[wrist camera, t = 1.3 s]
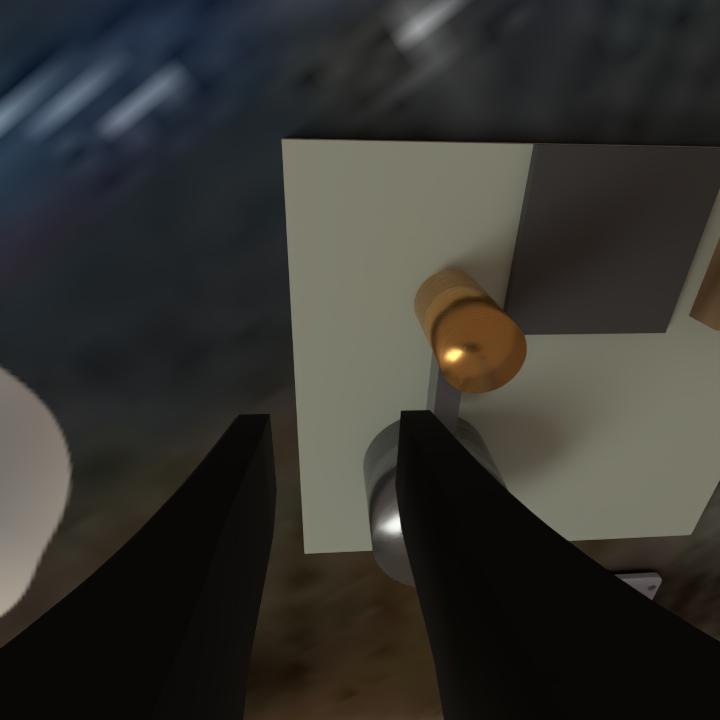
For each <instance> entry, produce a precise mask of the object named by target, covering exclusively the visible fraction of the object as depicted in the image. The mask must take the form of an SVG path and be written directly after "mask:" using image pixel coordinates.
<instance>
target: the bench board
mask: <svg viewBox="0 0 720 720" xmlns="http://www.w3.org/2000/svg"><path fill="white" fill-rule="evenodd" d="M533 144H548V145H599V146H651V145H601V144H550V143H499V142H448V141H397V140H346V139H295V138H283V139H282V152H283V170H284V188H285V206H286V225H287V243H288V261H289V279H290V297H291V315H292V333H293V351H294V369H295V387H296V405H297V424H298V442H299V460H300V478H301V496H302V514H303V532H304V550H305V554H308V553H329V552H349V551H370V550H372V542H371V533H370V524H369V516H368V507H367V499H366V490H365V482H364V473H363V462H364V457H365V453H366V451H367V449H368V447H369V445H370V444H371V442H372V440H373V439H374V438H375V437H376V436H377V435H378V434H379V433H380V432H381V431H382V430H383V429H385V428H386V427H387V426H389V425H390V424H392V423H394V422H396V421H397V420H400V415H401V411H405V410H426V405H427V396H428V386H429V377H430V368H431V359H432V349H431V347H430V345H429V343H428V341H427V338H426V336H425V334H424V332H423V330H422V328H421V326H420V324H419V321H418V319H417V317H416V315H415V311H414V300H415V296H416V293H417V291H418V289H419V288H420V286H421V285H422V284H423V282H424V281H425V280H426V279H428V278H429V277H430V276H432V275H434V274H436V273H438V272H441V271H445V270H459V271H462V272H465V273H467V274H469V275H470V276H471V277H472V278H473V279H474V280H475V281H476V282H477V283H478V284H479V285H480V286H481V287H482V288H483V289H484V290H485V291H486V292H487V293H488V295H489V296H490V297H491V298H492V299H493V300H494V301H495V302H496V303H497V304H498V305H499V306H500V307H501V308H502V310H503V308H504V303H505V297H506V292H507V286H508V281H509V275H510V270H511V264H512V259H513V254H514V248H515V243H516V237H517V232H518V226H519V221H520V215H521V210H522V204H523V199H524V193H525V188H526V183H527V177H528V172H529V166H530V161H531V155H532V150H533ZM651 147H702V146H651ZM702 148H720V147H702ZM719 238H720V189H719V192H718V195H717V197H716V200H715V203H714V205H713V208H712V211H711V213H710V216H709V219H708V221H707V224H706V227H705V229H704V232H703V235H702V237H701V240H700V243H699V245H698V248H697V251H696V253H695V256H694V259H693V261H692V264H691V267H690V269H689V272H688V275H687V277H686V280H685V283H684V285H683V288H682V291H681V293H680V296H679V299H678V301H677V304H676V307H675V309H674V312H673V315H672V317H671V320H670V323H669V325H668V328H667V331H666V333H635V334H560V335H524V336H525V339H526V343H527V354H526V358H525V361H524V364H523V366H522V367H521V369H520V371H519V372H518V373H517V375H516V376H515V377H514V378H513V379H512V380H511V381H509V382H508V383H507V384H505V385H504V386H502V387H500V388H498V389H496V390H493V391H490V392H485V393H467V392H464V391H462V393H461V400H460V407H459V413H458V417H459V418H461V419H463V420H465V421H467V422H468V423H470V424H471V425H472V426H474V427H475V429H476V430H477V431H478V432H479V433H480V435H481V437H482V438H483V440H484V442H485V444H486V446H487V448H488V450H489V452H490V454H491V456H492V458H493V460H494V462H495V464H496V466H497V468H498V470H499V472H500V474H501V476H502V478H503V480H504V482H505V484H506V486H507V489H508V491H509V492H510V493H511V494H512V495H513V496H515V497H516V498H517V499H518V500H519V501H520V502H521V503H522V504H524V505H525V506H526V507H527V508H528V509H529V510H530V511H531V512H533V513H534V514H535V515H536V516H537V517H539V518H540V519H541V520H542V521H543V522H545V523H546V524H547V525H548V526H550V527H551V528H552V529H553V530H555V531H556V532H557V533H559V534H560V535H561V536H562V537H564V538H565V539H566V540H568V541H574V540H595V539H615V538H636V537H656V536H676V535H691V534H692V532H693V530H694V528H695V526H696V524H697V522H698V520H699V518H700V516H701V515H702V513H703V511H704V509H705V507H706V505H707V503H708V501H709V499H710V497H711V496H712V494H713V492H714V490H715V488H716V486H717V484H718V482H719V480H720V331H716V330H714V329H712V328H710V327H708V326H707V325H705V324H703V323H701V322H699V321H697V320H695V319H694V318H692V317H690V316H689V314H690V311H691V309H692V306H693V304H694V301H695V299H696V296H697V294H698V291H699V289H700V286H701V284H702V281H703V278H704V276H705V273H706V271H707V268H708V266H709V263H710V261H711V258H712V256H713V253H714V251H715V248H716V245H717V243H718V240H719Z"/></svg>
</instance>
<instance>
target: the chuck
mask: <svg viewBox="0 0 720 720" xmlns="http://www.w3.org/2000/svg"><path fill="white" fill-rule="evenodd" d="M399 428H400V420H397V421H396V422H394V423H392V424H390V425H389V426H387V427H386V428H385V429H383V430H382V431H381V432H380V433H379V434H378V435H377V436H376V437H375V438H374V439H373V440H372V442H371V444H370V445H369V447H368V449H367V451H366V453H365V457H364V462H363V473H364V482H365V490H366V499H367V507H368V516H369V524H370V533H371V542H372V550H373V554H374V558H375V560H376V562H377V564H378V565H379V567H380V568H381V569H382V570H383V571H384V572H385V573H386V574H387V575H388V576H390V577H391V578H393V579H394V580H396V581H398V582H400V583H403V584H406V585H409V586H413V587H416V586H415V582H414V578H413V574H412V570H411V566H410V562H409V558H408V555H407V551H406V547H405V543H404V539H403V535H402V531H401V524H400V517H399V511H398V503H397V495H396V488H395V480H396V467H397V454H398V441H399ZM454 436H455V438H456V439H457V440H458V441H459V442H460V443H461V444H462V445H463V446H464V447H465V448H466V449H467V450H468V451H469V453H470V454H471V455H472V456H473V457H474V458H475V459H476V460H477V461H478V462H479V463H480V464H481V465H482V466H483V467H484V468H485V469H486V470H487V471H488V472H489V473H490V474H491V475H492V476H493V477H494V478H495V479H496V480H497V481H498V482H499V483H500V484H502V485H503V486H504V487H505V488H506V489H507V486H506V484H505V482H504V480H503V478H502V476H501V474H500V472H499V470H498V468H497V466H496V464H495V462H494V460H493V458H492V456H491V454H490V452H489V450H488V448H487V446H486V444H485V442H484V440H483V438H482V437H481V435H480V433H479V432H478V431H477V430H476V429H475V427H474V426H472V425H471V424H470V423H468V422H467V421H465V420H463V419H461V418H459V417H458V420H457V427H456V433H455V435H454ZM507 490H508V489H507Z"/></svg>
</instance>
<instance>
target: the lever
mask: <svg viewBox="0 0 720 720" xmlns="http://www.w3.org/2000/svg"><path fill="white" fill-rule="evenodd" d="M414 311H415V315H416V317H417V319H418V321H419V324H420V326H421V328H422V330H423V332H424V334H425V336H426V338H427V341H428V343H429V345H430V347H431V349H432V359H431V368H430V377H429V386H428V396H427V405H426V410H430V411H431V412H432V413H433V414H434V415H435V416H436V417H437V418H438V419H439V420H440V421H441V422H442V423H443V424H444V426H445V427H446V428H447V429H448V430H449V431H450V432H451V433H452V434H453V435H455V433H456V427H457V420H458V413H459V407H460V400H461V393H462V391H464V392H467V393H485V392H490V391H493V390H496V389H498V388H500V387H502V386H504V385H505V384H507V383H508V382H509V381H511V380H512V379H513V378H514V377H515V376H516V375H517V373H518V372H519V371H520V369H521V367H522V366H523V364H524V361H525V358H526V354H527V343H526V339H525V336H524V334H523V332H522V330H521V329H520V328H519V327H518V326H517V324H516V323H515V322H514V321H513V320H512V319H511V318H510V317H509V316H508V315H507V314H506V313H505V312H504V311H503V310H502V308H501V307H500V306H499V305H498V304H497V303H496V302H495V301H494V300H493V299H492V298H491V297H490V296H489V295H488V293H487V292H486V291H485V290H484V289H483V288H482V287H481V286H480V285H479V284H478V283H477V282H476V281H475V280H474V279H473V278H472V277H471V276H470V275H469V274H467V273H465V272H462V271H459V270H445V271H441V272H438V273H436V274H434V275H432V276H430V277H429V278H428V279H426V280H425V281H424V282H423V284H422V285H421V286H420V288H419V289H418V291H417V293H416V296H415V300H414Z"/></svg>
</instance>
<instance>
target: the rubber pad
mask: <svg viewBox="0 0 720 720" xmlns="http://www.w3.org/2000/svg"><path fill="white" fill-rule="evenodd" d="M719 189H720V148H702V147H651V146H599V145H548V144H533V150H532V155H531V161H530V166H529V172H528V177H527V183H526V188H525V193H524V199H523V204H522V210H521V215H520V221H519V226H518V232H517V237H516V243H515V248H514V254H513V259H512V264H511V270H510V275H509V281H508V286H507V292H506V297H505V303H504V308H503V311H504V312H505V313H506V314H507V315H508V316H509V317H510V318H511V319H512V320H513V321H514V322H515V323H516V324H517V326H518V327H519V328H520V329H521V330H522V332H523V334H524V335H560V334H635V333H666V331H667V328H668V325H669V323H670V320H671V317H672V315H673V312H674V309H675V307H676V304H677V301H678V299H679V296H680V293H681V291H682V288H683V285H684V283H685V280H686V277H687V275H688V272H689V269H690V267H691V264H692V261H693V259H694V256H695V253H696V251H697V248H698V245H699V243H700V240H701V237H702V235H703V232H704V229H705V227H706V224H707V221H708V219H709V216H710V213H711V211H712V208H713V205H714V203H715V200H716V197H717V195H718V192H719Z"/></svg>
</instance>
